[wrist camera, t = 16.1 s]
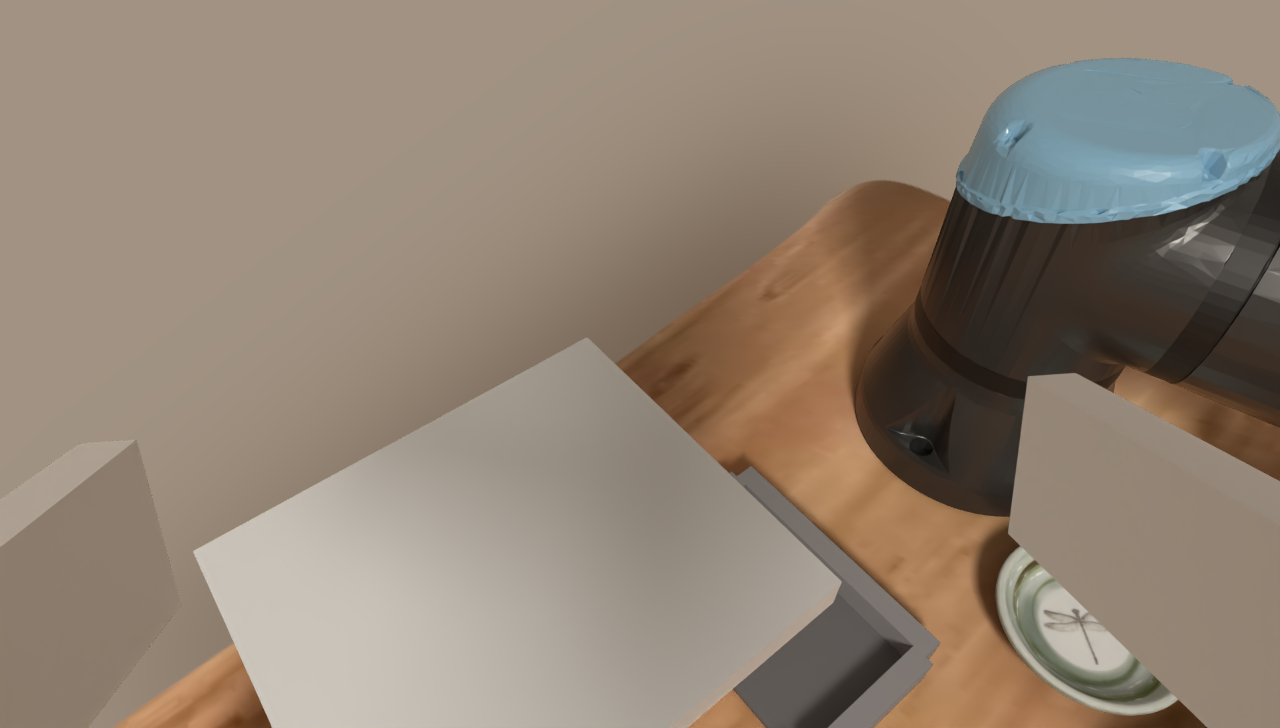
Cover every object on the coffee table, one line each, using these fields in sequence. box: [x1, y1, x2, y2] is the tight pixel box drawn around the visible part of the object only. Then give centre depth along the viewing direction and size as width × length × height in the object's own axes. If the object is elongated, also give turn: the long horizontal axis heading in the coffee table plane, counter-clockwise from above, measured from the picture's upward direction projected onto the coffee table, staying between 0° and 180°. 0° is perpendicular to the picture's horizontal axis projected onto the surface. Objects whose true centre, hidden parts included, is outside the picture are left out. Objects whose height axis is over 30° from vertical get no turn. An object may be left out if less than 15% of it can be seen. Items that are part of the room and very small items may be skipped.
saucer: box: [995, 546, 1178, 716], centre depth 41 cm, size 10×10×2 cm
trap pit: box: [729, 466, 941, 728], centre depth 42 cm, size 9×15×2 cm, turn 38°
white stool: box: [193, 337, 842, 728], centre depth 31 cm, size 16×16×18 cm
